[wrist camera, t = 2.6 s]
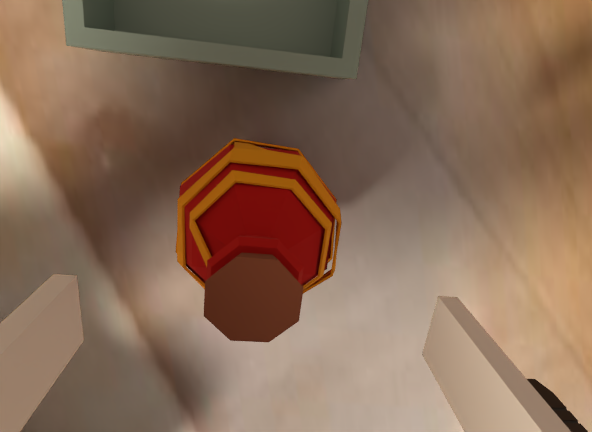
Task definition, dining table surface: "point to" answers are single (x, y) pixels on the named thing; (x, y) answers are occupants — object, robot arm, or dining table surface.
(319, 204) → the potion bottle
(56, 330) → the robot arm
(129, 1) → the bin
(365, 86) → the dining table surface
